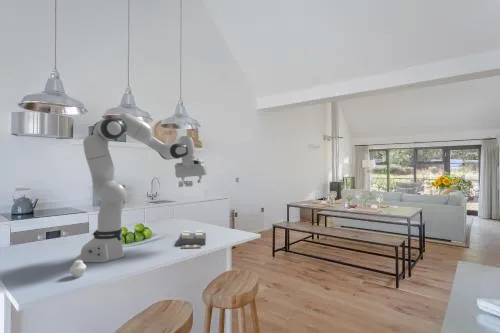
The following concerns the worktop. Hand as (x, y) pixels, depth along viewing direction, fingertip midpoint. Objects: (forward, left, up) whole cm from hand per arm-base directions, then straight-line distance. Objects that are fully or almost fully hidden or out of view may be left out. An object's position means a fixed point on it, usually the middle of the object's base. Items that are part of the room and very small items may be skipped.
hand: (192, 183), depth 184 cm
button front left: (-3, -8, -33) cm, 35 cm away
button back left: (-3, -1, -33) cm, 34 cm away
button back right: (+5, -1, -33) cm, 34 cm away
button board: (+1, -5, -36) cm, 37 cm away
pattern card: (+1, -16, -36) cm, 40 cm away
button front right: (+5, -8, -33) cm, 35 cm away
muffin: (-44, -55, -37) cm, 79 cm away
